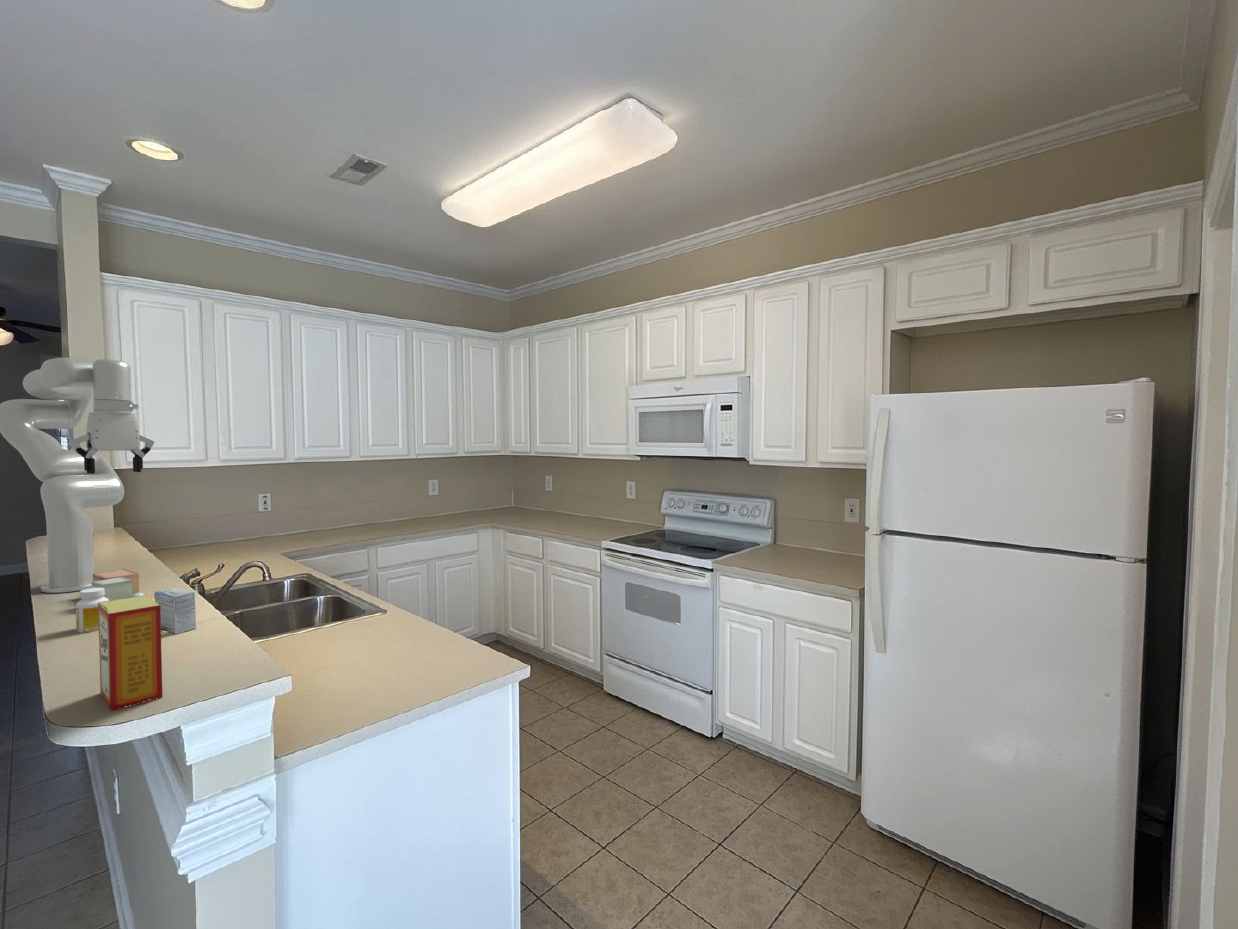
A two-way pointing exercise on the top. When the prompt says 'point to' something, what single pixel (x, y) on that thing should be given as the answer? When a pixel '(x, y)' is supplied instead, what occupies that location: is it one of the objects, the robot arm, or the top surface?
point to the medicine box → (176, 609)
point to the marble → (138, 594)
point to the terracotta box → (120, 573)
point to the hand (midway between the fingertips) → (114, 472)
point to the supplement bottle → (89, 609)
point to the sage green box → (115, 588)
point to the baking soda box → (130, 651)
